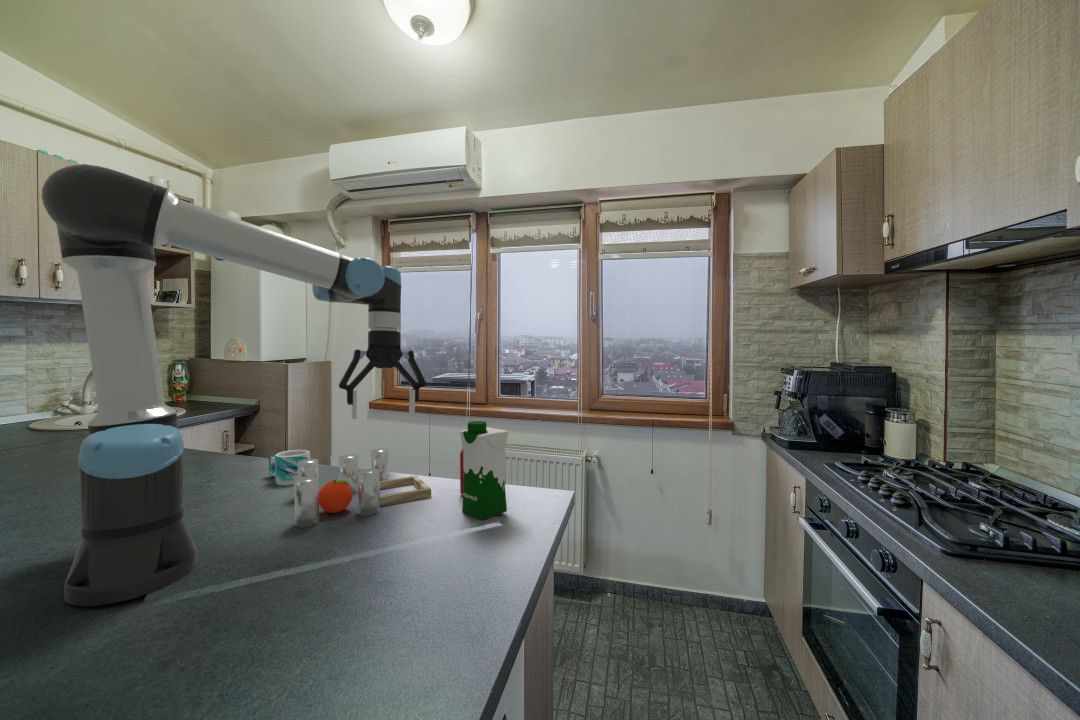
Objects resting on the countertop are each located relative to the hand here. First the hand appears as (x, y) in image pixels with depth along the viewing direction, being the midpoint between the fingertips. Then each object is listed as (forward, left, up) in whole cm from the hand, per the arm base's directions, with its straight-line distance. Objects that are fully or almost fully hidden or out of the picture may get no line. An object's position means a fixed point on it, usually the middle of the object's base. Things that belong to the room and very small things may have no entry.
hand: (383, 416), depth 105 cm
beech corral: (-1, -3, -19) cm, 20 cm away
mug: (+23, +20, -20) cm, 37 cm away
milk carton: (-23, -17, -20) cm, 35 cm away
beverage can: (-11, -19, -20) cm, 29 cm away
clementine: (-6, +11, -20) cm, 23 cm away
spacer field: (-1, +10, -19) cm, 22 cm away
